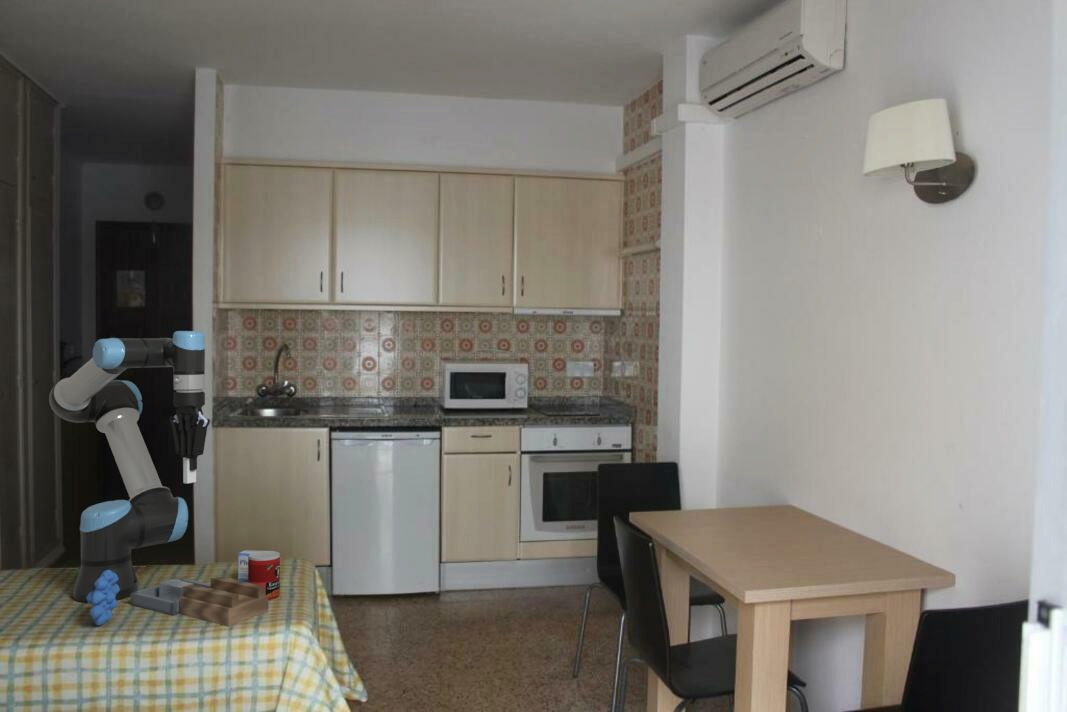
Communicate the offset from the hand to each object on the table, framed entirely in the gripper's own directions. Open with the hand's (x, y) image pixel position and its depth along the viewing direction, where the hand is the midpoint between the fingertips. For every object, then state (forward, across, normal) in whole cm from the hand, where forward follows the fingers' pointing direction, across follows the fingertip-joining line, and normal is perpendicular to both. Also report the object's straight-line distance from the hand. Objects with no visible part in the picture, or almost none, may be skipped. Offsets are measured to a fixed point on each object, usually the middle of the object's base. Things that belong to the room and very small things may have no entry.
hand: (189, 482), depth 218 cm
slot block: (+29, +18, -5) cm, 35 cm away
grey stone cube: (+27, +1, -5) cm, 27 cm away
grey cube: (+29, +3, -5) cm, 29 cm away
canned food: (+30, +17, +9) cm, 35 cm away
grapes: (+30, -1, -24) cm, 38 cm away
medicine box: (+30, +6, +16) cm, 34 cm away
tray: (+29, +2, -5) cm, 30 cm away
